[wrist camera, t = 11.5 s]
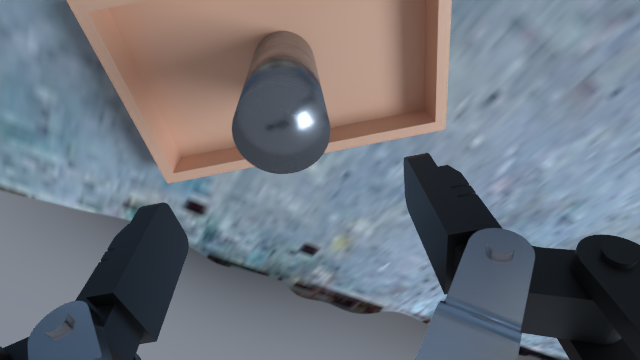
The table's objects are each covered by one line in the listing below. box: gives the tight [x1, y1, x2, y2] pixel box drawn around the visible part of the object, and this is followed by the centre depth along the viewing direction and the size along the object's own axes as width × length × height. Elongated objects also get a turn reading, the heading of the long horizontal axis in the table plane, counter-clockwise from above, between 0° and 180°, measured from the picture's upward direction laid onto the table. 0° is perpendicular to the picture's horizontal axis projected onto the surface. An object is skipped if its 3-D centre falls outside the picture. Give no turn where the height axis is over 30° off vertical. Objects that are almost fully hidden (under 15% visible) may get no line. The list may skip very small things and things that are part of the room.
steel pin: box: [232, 31, 330, 174], centre depth 19 cm, size 4×4×11 cm
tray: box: [66, 0, 452, 184], centre depth 23 cm, size 22×13×3 cm, turn 100°
